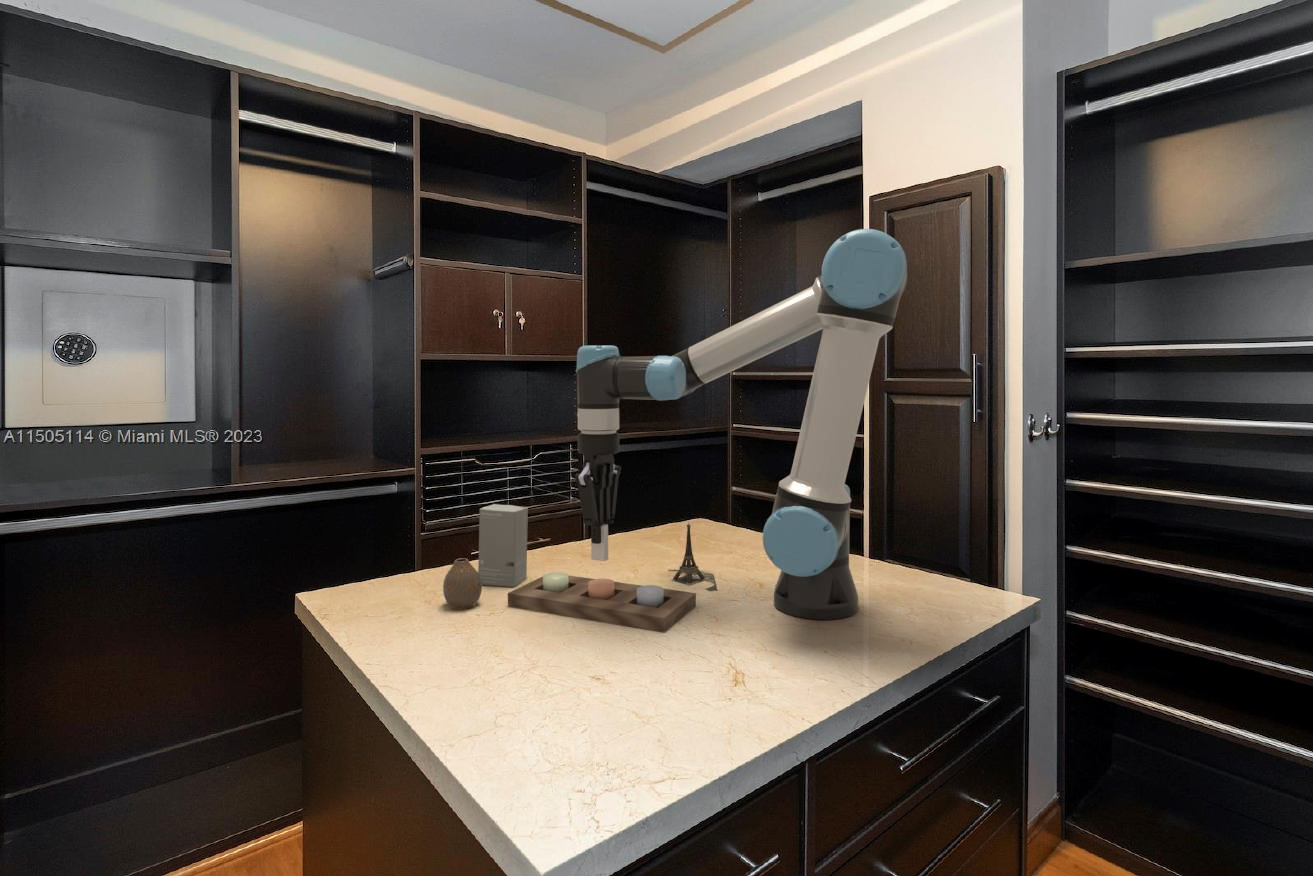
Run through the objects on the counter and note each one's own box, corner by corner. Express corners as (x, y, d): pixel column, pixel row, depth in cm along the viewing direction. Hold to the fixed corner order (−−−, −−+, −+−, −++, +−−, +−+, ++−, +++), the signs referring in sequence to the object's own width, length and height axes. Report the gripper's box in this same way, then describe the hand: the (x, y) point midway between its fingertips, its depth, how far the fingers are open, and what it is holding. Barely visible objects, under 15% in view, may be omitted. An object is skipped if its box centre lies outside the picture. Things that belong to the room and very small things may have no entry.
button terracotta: (619, 596, 130) (618, 580, 129) (606, 604, 125) (606, 587, 125) (596, 592, 132) (596, 577, 131) (583, 600, 127) (583, 584, 127)
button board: (696, 606, 128) (696, 593, 128) (664, 632, 115) (664, 617, 115) (550, 584, 142) (550, 572, 141) (508, 606, 129) (507, 593, 129)
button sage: (573, 589, 134) (573, 574, 133) (559, 596, 129) (559, 581, 129) (552, 586, 136) (552, 571, 136) (538, 593, 132) (537, 578, 131)
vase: (471, 613, 126) (470, 565, 125) (436, 610, 127) (434, 564, 126) (488, 600, 132) (486, 555, 132) (455, 598, 134) (453, 554, 133)
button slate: (667, 603, 125) (667, 587, 125) (656, 611, 121) (656, 595, 121) (644, 599, 127) (643, 583, 127) (632, 608, 123) (631, 591, 123)
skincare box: (477, 585, 142) (474, 509, 140) (493, 575, 149) (491, 502, 147) (516, 588, 140) (513, 510, 138) (530, 578, 147) (528, 504, 145)
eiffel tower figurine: (718, 594, 136) (718, 527, 135) (667, 594, 136) (666, 527, 135) (712, 572, 151) (712, 511, 150) (666, 572, 151) (665, 512, 150)
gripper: (598, 428, 133) (599, 548, 135) (561, 434, 121) (563, 566, 123) (633, 429, 130) (634, 553, 132) (598, 435, 118) (599, 571, 120)
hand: (599, 559), depth 128 cm, fingers closed
